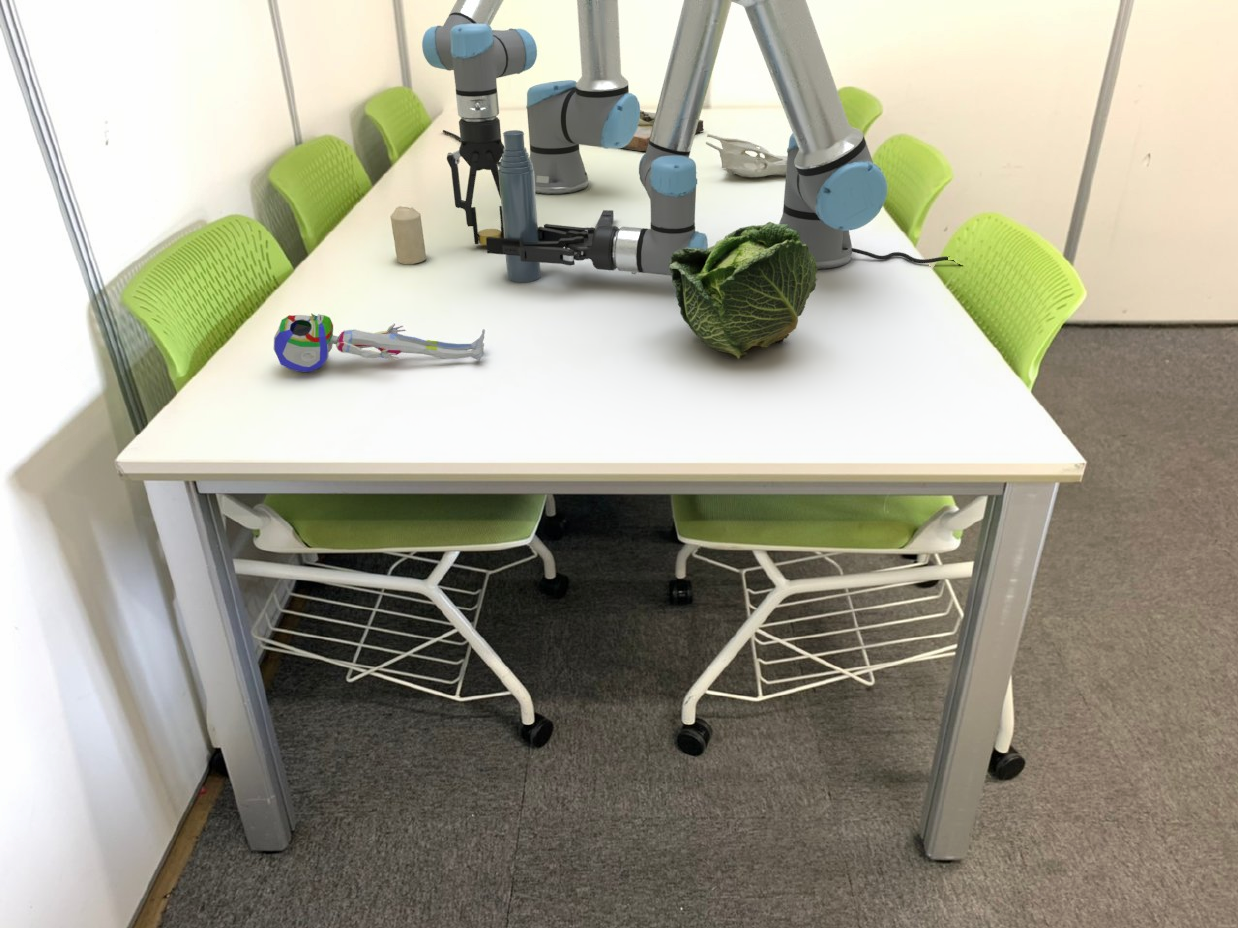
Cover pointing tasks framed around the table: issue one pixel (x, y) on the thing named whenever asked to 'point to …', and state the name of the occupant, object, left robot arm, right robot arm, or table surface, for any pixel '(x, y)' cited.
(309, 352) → the toy
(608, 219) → the pillar
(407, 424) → the table surface
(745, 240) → the vegetable
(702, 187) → the table surface
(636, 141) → the plaque
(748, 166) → the anatomical model
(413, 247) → the candle
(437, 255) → the table surface
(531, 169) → the bottle
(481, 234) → the cap
